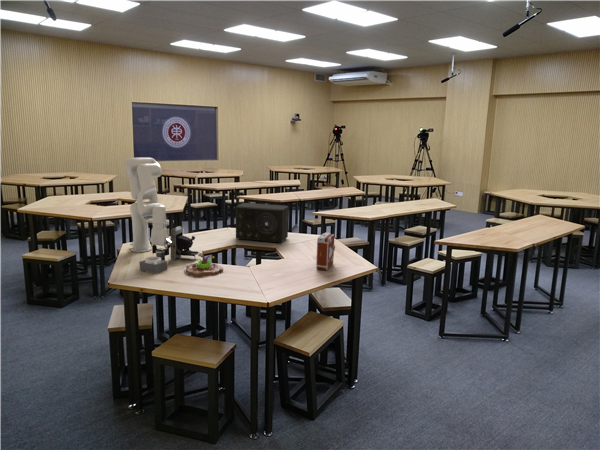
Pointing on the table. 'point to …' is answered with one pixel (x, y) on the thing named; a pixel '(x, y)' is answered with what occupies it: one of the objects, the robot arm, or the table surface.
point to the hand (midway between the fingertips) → (160, 254)
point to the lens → (160, 253)
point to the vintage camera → (180, 244)
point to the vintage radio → (262, 222)
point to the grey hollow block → (153, 265)
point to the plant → (203, 268)
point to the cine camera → (325, 251)
